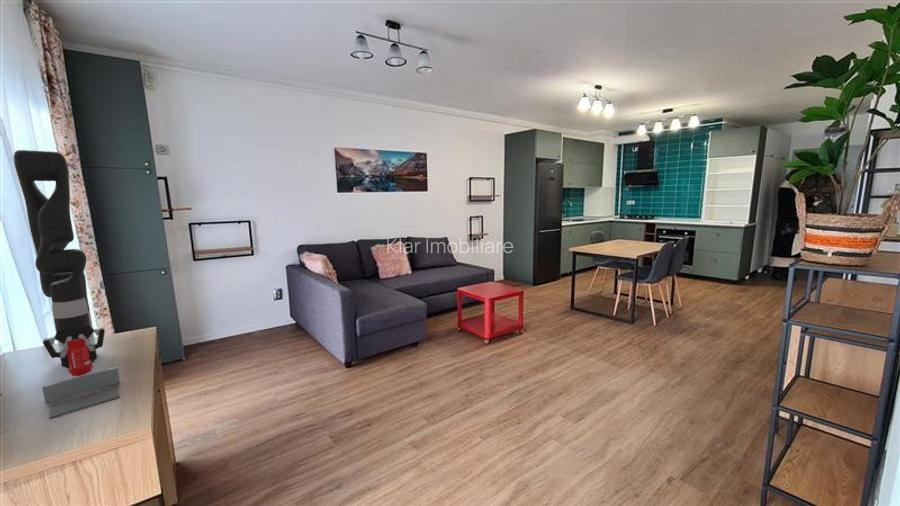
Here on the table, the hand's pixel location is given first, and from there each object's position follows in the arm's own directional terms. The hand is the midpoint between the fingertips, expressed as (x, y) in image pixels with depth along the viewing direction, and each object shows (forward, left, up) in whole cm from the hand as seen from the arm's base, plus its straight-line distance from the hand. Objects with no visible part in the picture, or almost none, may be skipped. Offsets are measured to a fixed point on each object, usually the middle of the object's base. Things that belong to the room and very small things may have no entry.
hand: (80, 364), depth 116 cm
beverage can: (0, 0, -3) cm, 3 cm away
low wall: (+9, 0, -6) cm, 11 cm away
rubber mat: (+17, 0, -6) cm, 18 cm away
